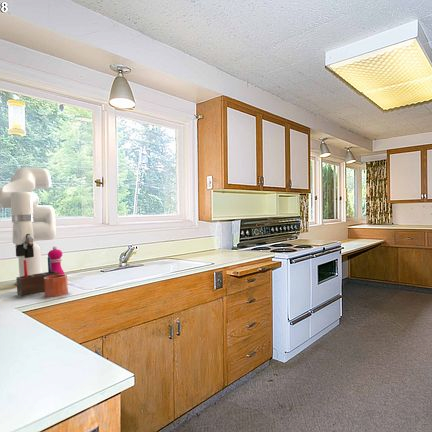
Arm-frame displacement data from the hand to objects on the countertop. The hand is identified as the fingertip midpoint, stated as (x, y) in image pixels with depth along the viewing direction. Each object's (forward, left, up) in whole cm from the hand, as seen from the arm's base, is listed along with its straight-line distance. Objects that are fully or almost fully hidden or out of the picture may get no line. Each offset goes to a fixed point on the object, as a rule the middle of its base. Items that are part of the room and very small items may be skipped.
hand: (24, 256), depth 143 cm
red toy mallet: (0, 0, -17) cm, 17 cm away
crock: (+13, +7, -18) cm, 23 cm away
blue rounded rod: (0, +9, -17) cm, 20 cm away
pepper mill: (-10, +16, -18) cm, 26 cm away
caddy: (0, +5, -18) cm, 19 cm away
